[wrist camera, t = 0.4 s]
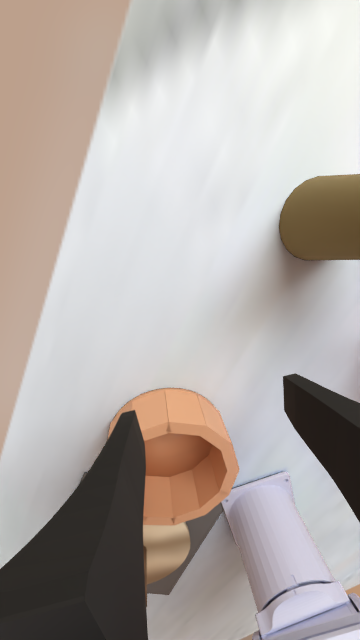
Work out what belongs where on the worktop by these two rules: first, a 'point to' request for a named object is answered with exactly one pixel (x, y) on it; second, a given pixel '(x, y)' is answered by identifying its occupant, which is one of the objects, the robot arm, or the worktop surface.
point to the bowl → (182, 455)
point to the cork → (323, 219)
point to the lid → (164, 550)
